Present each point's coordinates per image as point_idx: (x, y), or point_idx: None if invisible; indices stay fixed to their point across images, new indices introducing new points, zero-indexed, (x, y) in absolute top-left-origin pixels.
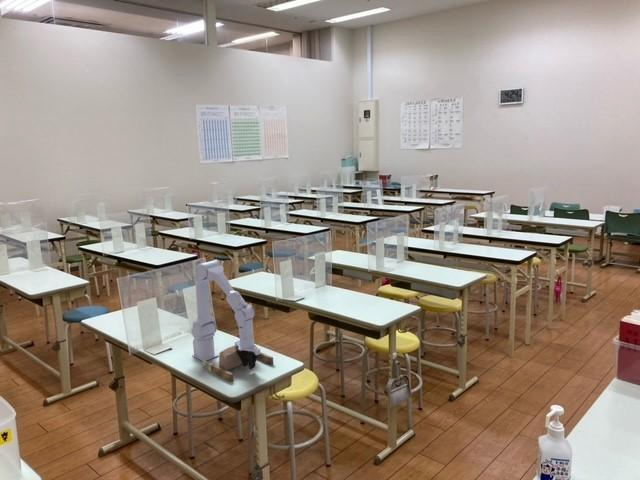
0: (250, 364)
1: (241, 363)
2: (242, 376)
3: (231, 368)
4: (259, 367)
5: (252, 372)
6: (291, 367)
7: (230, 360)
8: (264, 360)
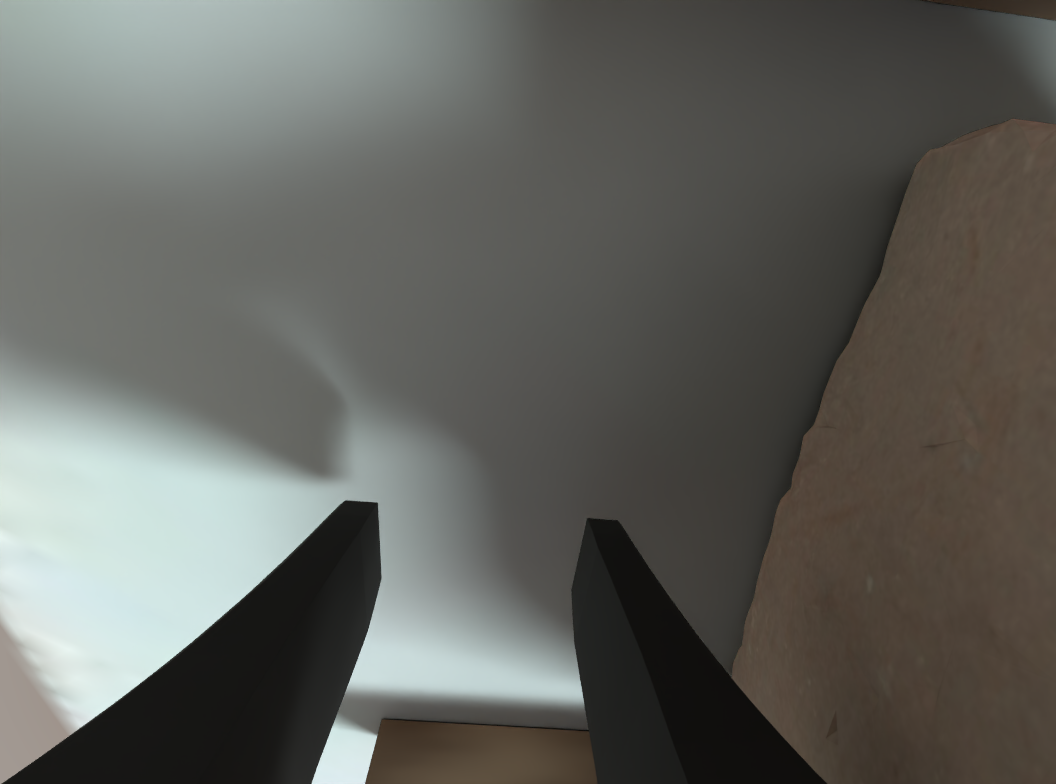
0: (251, 596)
1: (759, 579)
2: (387, 270)
3: (838, 369)
4: (446, 626)
5: (386, 483)
6: None
7: (1031, 447)
8: (517, 752)
